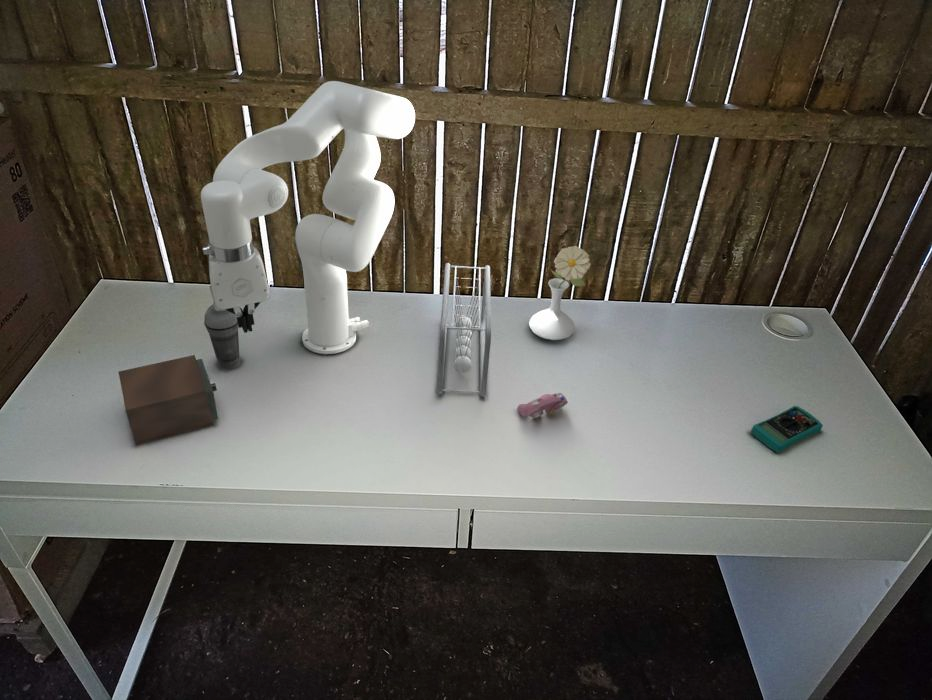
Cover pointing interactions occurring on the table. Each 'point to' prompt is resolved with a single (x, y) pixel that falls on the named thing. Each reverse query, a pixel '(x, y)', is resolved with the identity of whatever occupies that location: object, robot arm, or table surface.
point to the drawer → (208, 389)
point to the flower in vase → (553, 319)
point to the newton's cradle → (466, 330)
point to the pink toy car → (542, 405)
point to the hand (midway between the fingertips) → (246, 328)
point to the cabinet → (165, 399)
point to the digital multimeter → (786, 428)
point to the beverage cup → (223, 336)
